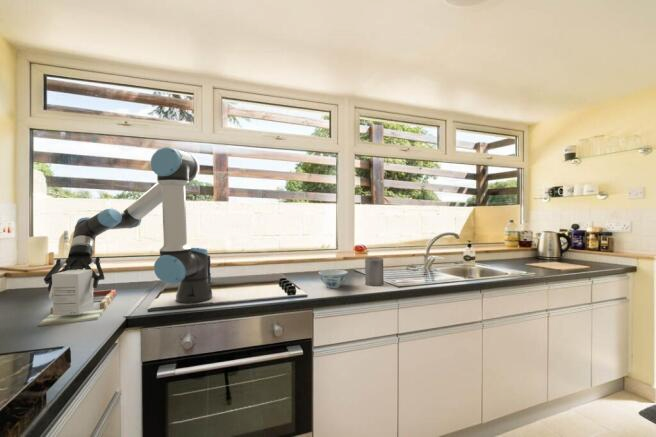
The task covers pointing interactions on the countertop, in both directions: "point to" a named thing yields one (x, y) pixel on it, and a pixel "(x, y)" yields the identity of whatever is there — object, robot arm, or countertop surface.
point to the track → (98, 296)
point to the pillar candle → (374, 271)
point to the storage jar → (209, 270)
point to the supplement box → (71, 292)
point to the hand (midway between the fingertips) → (71, 296)
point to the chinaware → (333, 277)
